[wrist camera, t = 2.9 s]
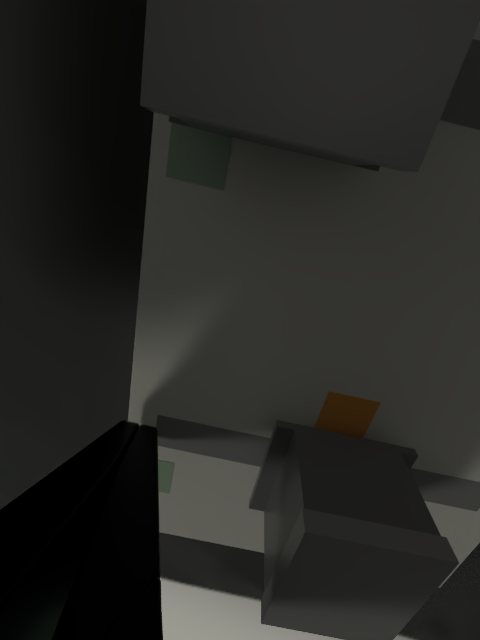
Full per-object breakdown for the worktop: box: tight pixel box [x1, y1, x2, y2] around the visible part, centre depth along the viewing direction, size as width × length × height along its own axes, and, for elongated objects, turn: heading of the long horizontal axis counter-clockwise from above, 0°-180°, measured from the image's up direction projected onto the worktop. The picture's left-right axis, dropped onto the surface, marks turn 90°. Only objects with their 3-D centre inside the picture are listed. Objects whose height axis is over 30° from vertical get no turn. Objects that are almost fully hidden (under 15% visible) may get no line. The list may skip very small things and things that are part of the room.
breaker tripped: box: [249, 420, 459, 640], centre depth 7 cm, size 3×3×2 cm
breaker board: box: [128, 22, 480, 588], centre depth 7 cm, size 10×14×1 cm
